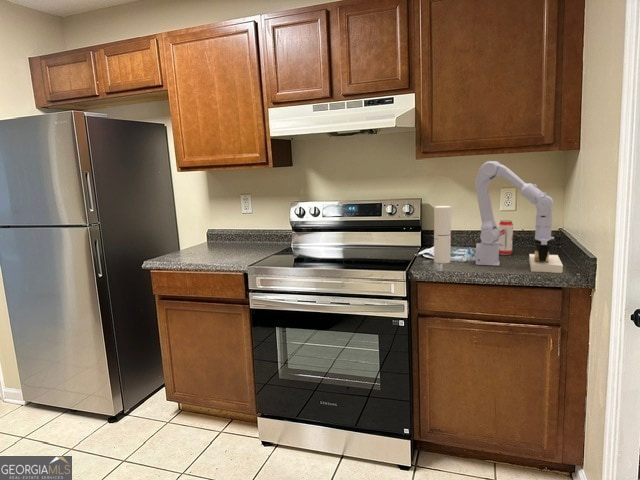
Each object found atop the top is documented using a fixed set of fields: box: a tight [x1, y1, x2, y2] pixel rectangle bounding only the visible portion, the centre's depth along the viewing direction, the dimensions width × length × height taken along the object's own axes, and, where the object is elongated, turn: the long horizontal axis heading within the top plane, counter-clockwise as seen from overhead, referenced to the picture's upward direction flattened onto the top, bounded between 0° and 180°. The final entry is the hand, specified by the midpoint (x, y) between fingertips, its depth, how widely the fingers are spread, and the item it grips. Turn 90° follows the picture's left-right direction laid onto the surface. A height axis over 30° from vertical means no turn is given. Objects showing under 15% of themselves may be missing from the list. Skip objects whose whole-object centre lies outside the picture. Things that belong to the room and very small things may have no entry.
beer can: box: [498, 219, 514, 256], centre depth 205 cm, size 6×6×16 cm
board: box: [528, 253, 564, 274], centre depth 180 cm, size 11×20×3 cm, turn 157°
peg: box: [534, 250, 550, 263], centre depth 177 cm, size 5×5×7 cm
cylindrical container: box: [433, 205, 452, 264], centre depth 193 cm, size 7×7×25 cm
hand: (541, 259), depth 176 cm, fingers open, 7 cm apart
